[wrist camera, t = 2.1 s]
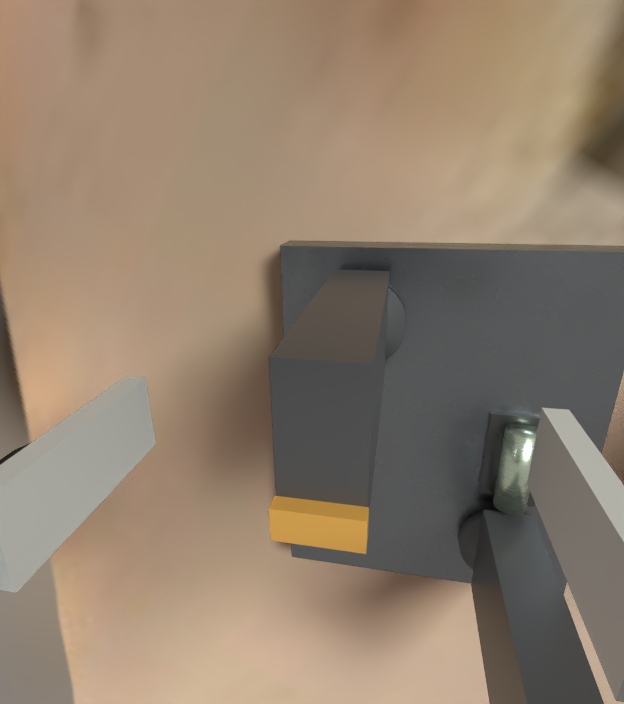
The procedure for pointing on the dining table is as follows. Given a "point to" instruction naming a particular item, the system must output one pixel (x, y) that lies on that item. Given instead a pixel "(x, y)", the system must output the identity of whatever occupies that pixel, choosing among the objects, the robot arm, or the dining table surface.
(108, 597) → the dining table surface
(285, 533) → the yellow-tipped grey bar
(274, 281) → the dining table surface
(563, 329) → the levelling plate
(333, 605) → the dining table surface
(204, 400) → the dining table surface
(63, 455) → the robot arm
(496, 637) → the knob
